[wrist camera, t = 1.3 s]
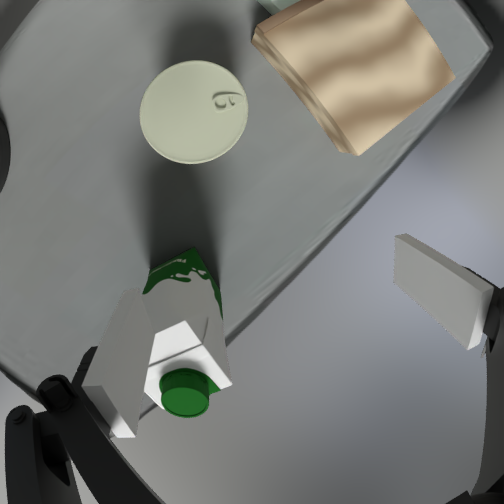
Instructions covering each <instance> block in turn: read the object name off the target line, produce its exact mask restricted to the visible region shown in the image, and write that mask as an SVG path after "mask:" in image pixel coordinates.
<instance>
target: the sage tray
mask: <svg viewBox="0 0 504 504" xmlns="http://www.w3.org/2000/svg"><path fill="white" fill-rule="evenodd" d="M257 1H258V2H259V3H260V4H261V5H262V6H263V7H264V8H265V9H266V10H267V11H268V12H269V13H270V14H271V15H272V16H273V15H274V14H276V13H278V12H280V11H282V10H283V9H285V8H287V7H289V6H291V5H292V4H294V3H296V2H298V1H300V0H257Z"/></svg>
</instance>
